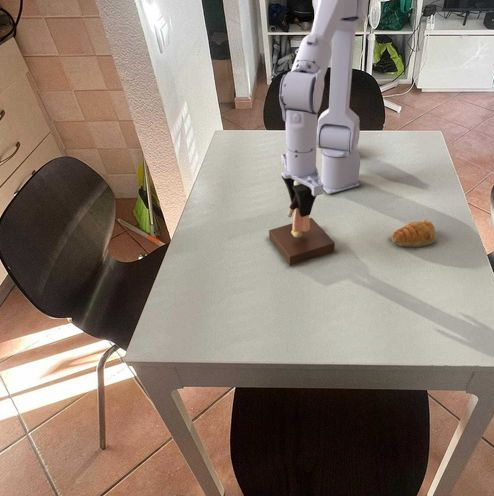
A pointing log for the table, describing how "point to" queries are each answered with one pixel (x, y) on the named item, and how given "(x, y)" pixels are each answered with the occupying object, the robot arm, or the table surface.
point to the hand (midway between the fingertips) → (301, 210)
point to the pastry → (415, 234)
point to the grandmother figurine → (298, 218)
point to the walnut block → (301, 243)
